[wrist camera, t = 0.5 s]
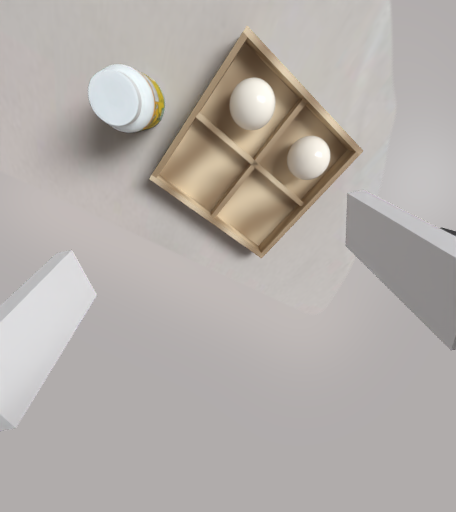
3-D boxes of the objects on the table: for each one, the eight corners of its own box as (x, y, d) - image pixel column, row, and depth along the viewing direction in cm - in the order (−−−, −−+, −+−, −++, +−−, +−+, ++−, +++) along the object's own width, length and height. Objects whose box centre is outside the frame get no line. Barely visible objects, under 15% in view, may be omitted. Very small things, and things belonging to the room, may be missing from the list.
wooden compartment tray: (154, 173, 33) (149, 178, 31) (243, 34, 27) (247, 25, 24) (258, 248, 39) (261, 258, 37) (351, 147, 33) (363, 150, 30)
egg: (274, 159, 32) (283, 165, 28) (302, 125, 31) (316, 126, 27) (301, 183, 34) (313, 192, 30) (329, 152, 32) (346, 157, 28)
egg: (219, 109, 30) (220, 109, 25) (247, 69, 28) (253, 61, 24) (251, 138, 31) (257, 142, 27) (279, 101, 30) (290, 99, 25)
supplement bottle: (149, 64, 28) (122, 43, 20) (174, 116, 30) (160, 117, 22) (107, 88, 29) (63, 78, 20) (134, 137, 31) (106, 145, 23)
